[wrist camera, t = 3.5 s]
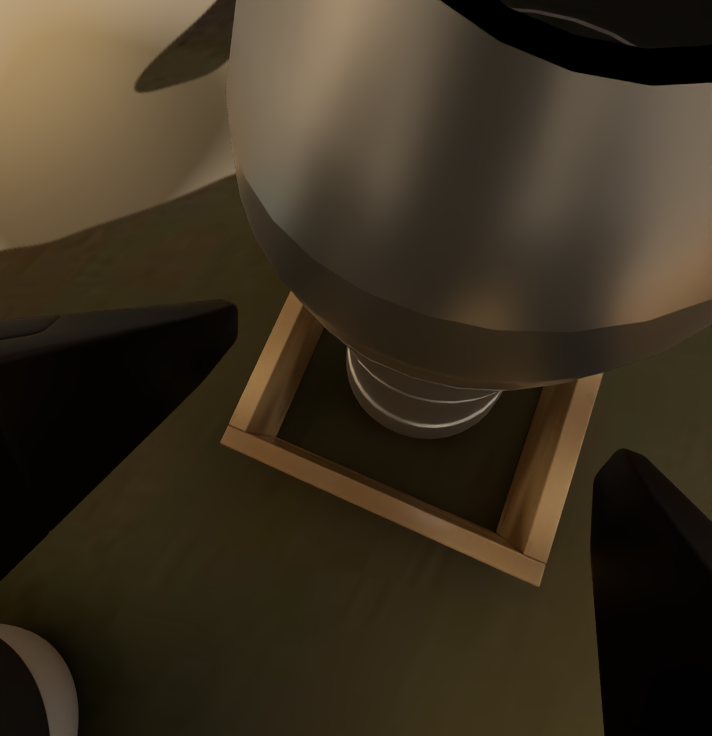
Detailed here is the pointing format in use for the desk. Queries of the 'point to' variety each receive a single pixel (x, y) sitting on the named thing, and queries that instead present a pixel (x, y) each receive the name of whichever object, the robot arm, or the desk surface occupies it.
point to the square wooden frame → (500, 550)
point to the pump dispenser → (34, 687)
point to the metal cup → (479, 187)
